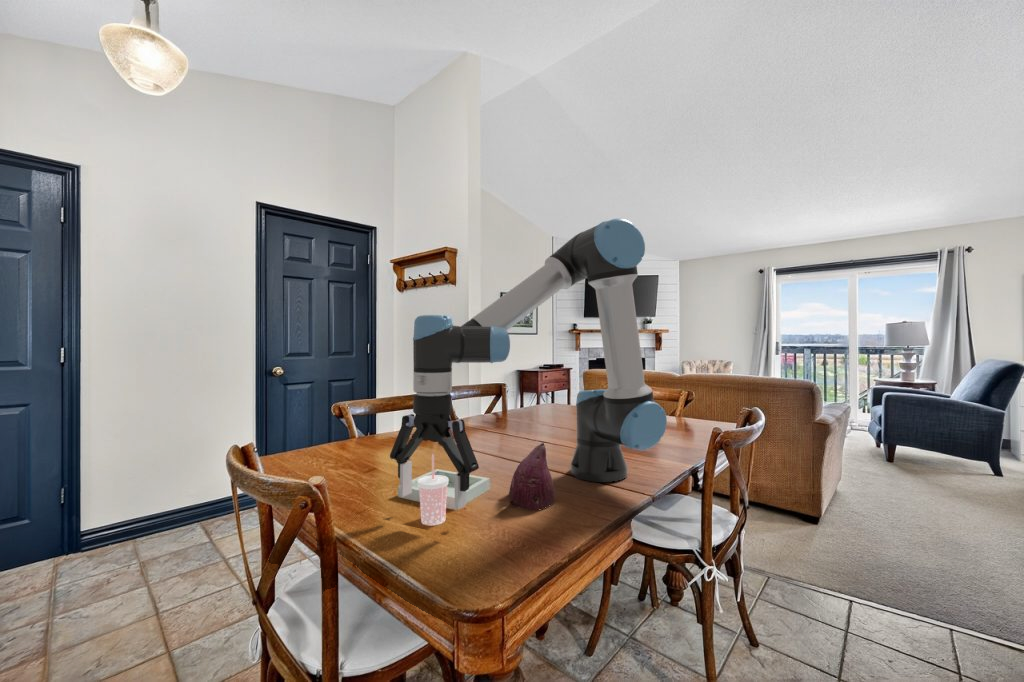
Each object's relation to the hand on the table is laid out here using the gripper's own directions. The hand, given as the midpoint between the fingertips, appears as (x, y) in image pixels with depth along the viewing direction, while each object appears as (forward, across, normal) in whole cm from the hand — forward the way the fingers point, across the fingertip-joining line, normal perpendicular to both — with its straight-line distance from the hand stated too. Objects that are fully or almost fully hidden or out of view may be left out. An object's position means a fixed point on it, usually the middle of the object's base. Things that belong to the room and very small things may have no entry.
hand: (432, 500), depth 82 cm
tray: (+5, -7, +13) cm, 16 cm away
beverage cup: (+5, 0, 0) cm, 5 cm away
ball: (+4, -11, +16) cm, 20 cm away
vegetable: (+5, +12, +20) cm, 24 cm away
